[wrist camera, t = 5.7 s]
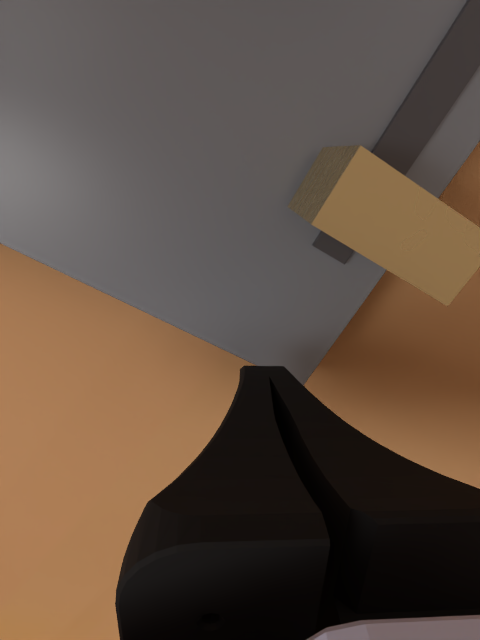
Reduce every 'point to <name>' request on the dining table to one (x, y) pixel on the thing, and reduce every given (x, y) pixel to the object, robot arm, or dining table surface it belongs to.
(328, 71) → the switch panel
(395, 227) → the block
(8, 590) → the dining table surface
